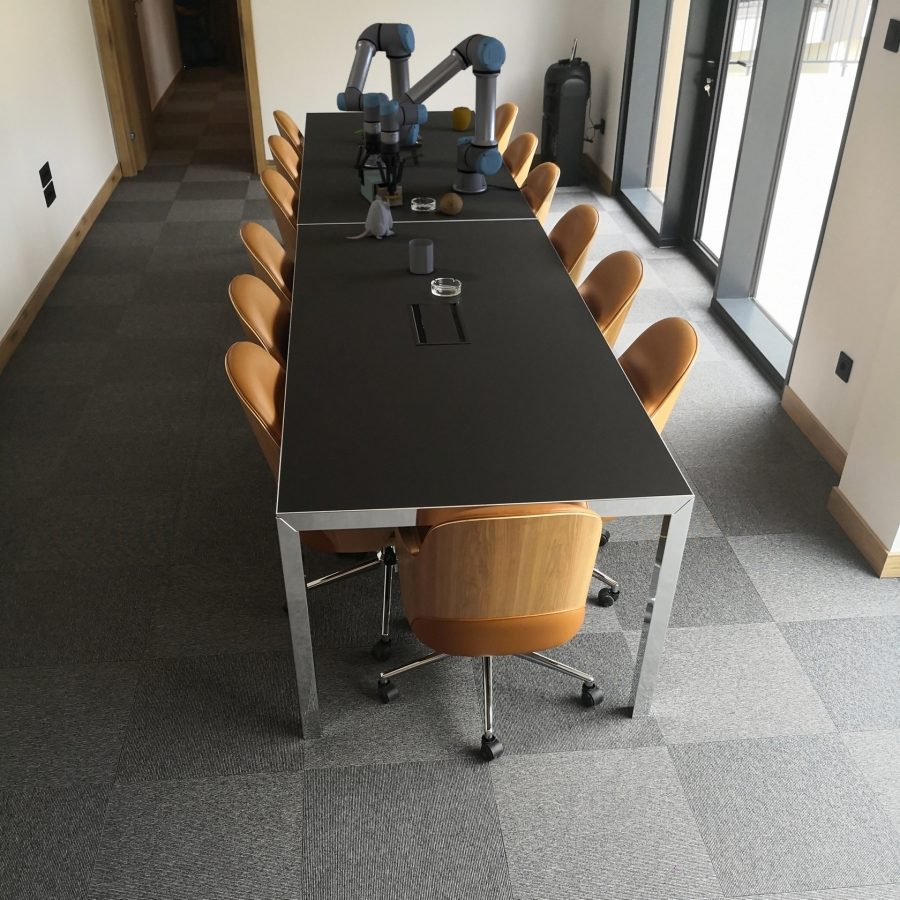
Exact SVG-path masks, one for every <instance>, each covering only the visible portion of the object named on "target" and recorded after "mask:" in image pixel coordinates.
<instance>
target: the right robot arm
mask: <svg viewBox="0 0 900 900" xmlns="http://www.w3.org/2000/svg"><path fill="white" fill-rule="evenodd" d="M506 58H507V51H506V48H505V46H504V44H503V43H502V42H501V41H500V40H499V39H498V38H496V37H495V36H490V35H485V34H482V33H474V34H471V35H469V36H467V37H466V38H464V39H463V40H461V41H460V42H458V44H456V45H455V46H454V47H453V48H452V49H450V54H449V55H448V56H447V57H446V58H444V59H443V60H442V61H441V62H439V63H438V64H437V65H436V66H434V68H433V69H431V70H430V71H429V72H427V74H425V75H424V76H423V77H422V78H421V79H419V80H418V81H417V82H416V83H415V84H414V85H412V86H410V89H409V90H408V91H407V92H406V93H404V94H403V95H402V96H401V97H395V98H393V99H390V100H389V101H383V102H381V104H380V126H381V141H382V143H381V156H380V158H379V159H378V160H376V161H375V162H376V164H377V165H378V168H379V169H378V170H379V172H380V175H381V179H382V182H383V183H384V184H387V192H388V193H389V196H395V195H394V192H396V191H397V189H396V185H397V186H398V184H399V183H401V181H402V177H403V171H404V167H405V164H406V162H407V159H405V158H404V157H405V156H402V154H401V151H400V149H401V148H400V147H401V145H399V142H398V141H399V126H403V125H415V124H418V125H419V126H420V125H422V124H425V123H426V122H427V121H428V117H429V116H428V108H427V106H426V105H425V104H424V102H426V101H427V99H429V98H430V97H431V96H433V95H434V94H435V93H436V92H437V91H438V90H440V89H441V88H442V87H443V86H444V85H445V84H447V83H448V82H449V81H450V80H452V78H454V77H456V75H458V74H459V73H460V72H461V71H466V70H467V69H469V68H470V67H471V68H472V69H471V73H472V75H473V76H474V77H475V98H474V99H475V108H474V117H475V118H474V135H471V136H463V137H459V138H458V139H457V144H456V176H455V178H454V181H453V184H452V190H453V191H454V192H455V193H456V194H462V195H479V194H483V193H485V192H486V191H487V190H488V187H492V188H497V189H501V190H508V191H521V190H523V189H525V187H527V186H528V183H526V184H524V185H522V186H521V187H518V188H511V187H505V186H500V185H495V184H489V183H487V181H486V177H489V176H493V175H496V173H497V172H498V171H499V170H500V169H501V167H502V164H503V156H502V153H501V152H500V151H499V140H498V139H497V138H496V115H497V82H498V81H497V80H498V79H497V78H498V77H499V76H500V75H501V71H502V67H503V65H504V64H505V63H506ZM399 159H400V160H399ZM382 161H383V162H384V163H385V166H386V168H385V170H386V178H385V175H384V171H383V169H384V168H383V167H382V165H381V164H382ZM397 164H398V167H397ZM391 166H392V174H391V175H392V182H393V183H391V175H390V168H391ZM397 168H398V169H397ZM391 201H394V200H391Z"/></svg>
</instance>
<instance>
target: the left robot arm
mask: <svg viewBox="0 0 900 900" xmlns="http://www.w3.org/2000/svg"><path fill="white" fill-rule="evenodd" d="M415 38H416V37H415V34H414V30H413V28H412V26H411V25H410V24H409V23H402V22H375V23H372V24H370V25H369V26H367V27H365V29H364V30H362V32H361V33H360V35H359V36H358V38H357V39H356V43H355V46H354V49H355V54H354V58H353V62H352V65H351V68H350V71H349V75H348V78H347V82H346V86H345V89H344V91H342V92H339V93H337V96H336V106H337V109H338V110H339V111H340V112H347V113H348V112H349V113H351V112H352V113H363V117H364V118H363V130H364V131H363V134H364V140H363V141H364V143H365V145H361V144H358V145H357V149H358V150H357V154H356V157H355V159H354V163H353V168H354V169H355V170H357V176H358V178H360V185H361V184H362V185H363V186H364V171H365V170H364V169H363V168H366V169H371V170H379V168H378V165H377V164H376V162H375V161H376V160H378V159H379V158H380V156H381V143H382V141H381V126H380V104H381V102H383V101H390V98H389V96H388V95H387V94H386V93H385V92H366V93H363V92H364V88H365V85H366V81H367V78H368V75H369V71H370V68H371V65H372V60H373V58H374V57H376V55H377V53H378V52H382V53H383V52H384V53H385V57H386V59H387V60H388V61H389V71H390V84H391V85H390V86H391V98H392V99H393V98H395V97H401V96H402V95H403V94H404V93H406V92H407V91H408V90H409V89H410V88H411V82H410V67H409V65H410V64H409V63H410V62H409V60H410V59H411V57H412V53H414V52H415V48H416V45H415V44H416V39H415ZM392 99H391V100H392ZM419 132H420V124H419V125H418V124H415V125H403V126H399V141H398V142H399V145H400V146H401V145H403V146H413V145H415V144H416V142H417V141H418V138H419ZM420 156H423V153H417V154H414V155H410V156H403V157H404V158H405V159H406V160H408V159H413V158H416V157H420ZM399 160H400V159H399ZM381 165H382V167H383V169H386V166H385V163H384V162H383V161H382V164H381ZM390 174H391V175H392V166H391V168H390Z"/></svg>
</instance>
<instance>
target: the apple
mask: <svg viewBox="0 0 900 900" xmlns="http://www.w3.org/2000/svg"><path fill="white" fill-rule="evenodd" d="M451 121H452V125H453V128H454V129H455V131H457V132H463V131H466V130H467V129H468V128H469V126H470V124H471V121H472V111H471V108H469V107H467V106H462V105H461V106H457V107H454V108H452V111H451Z"/></svg>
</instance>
